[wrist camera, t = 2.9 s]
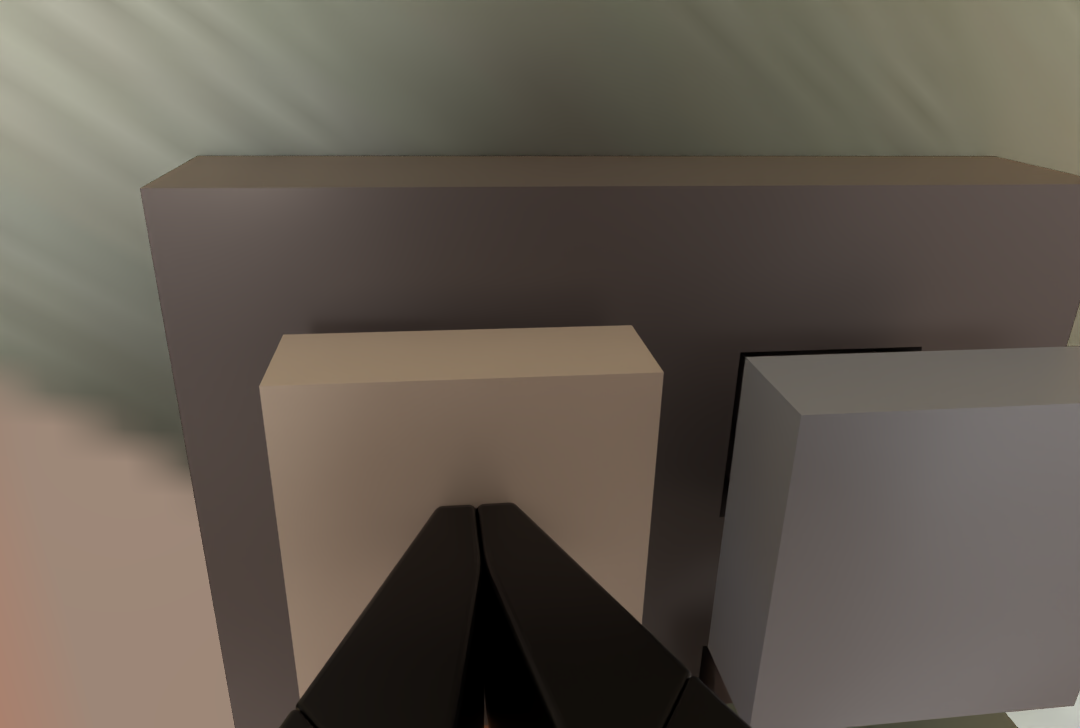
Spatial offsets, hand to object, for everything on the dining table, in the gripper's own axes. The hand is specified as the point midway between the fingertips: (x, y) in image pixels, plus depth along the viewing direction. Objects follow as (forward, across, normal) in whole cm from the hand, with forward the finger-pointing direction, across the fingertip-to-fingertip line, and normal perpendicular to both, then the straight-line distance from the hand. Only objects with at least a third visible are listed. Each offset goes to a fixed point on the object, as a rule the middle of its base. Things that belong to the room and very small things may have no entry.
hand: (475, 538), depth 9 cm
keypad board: (+4, -2, +3) cm, 6 cm away
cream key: (+4, 0, 0) cm, 4 cm away
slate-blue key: (+3, -5, 0) cm, 6 cm away
